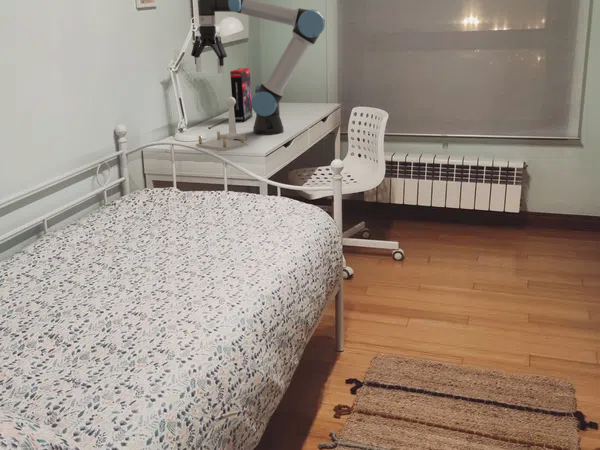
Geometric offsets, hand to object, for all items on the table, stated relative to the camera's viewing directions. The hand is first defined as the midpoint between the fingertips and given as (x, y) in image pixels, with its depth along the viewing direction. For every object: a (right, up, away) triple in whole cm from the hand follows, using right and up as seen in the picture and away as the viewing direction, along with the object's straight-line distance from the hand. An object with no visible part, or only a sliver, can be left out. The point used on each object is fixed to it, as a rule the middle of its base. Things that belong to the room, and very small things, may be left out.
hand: (209, 72), depth 325 cm
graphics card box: (+11, -14, +58) cm, 60 cm away
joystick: (+10, -31, +3) cm, 33 cm away
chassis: (+7, -36, -10) cm, 38 cm away
